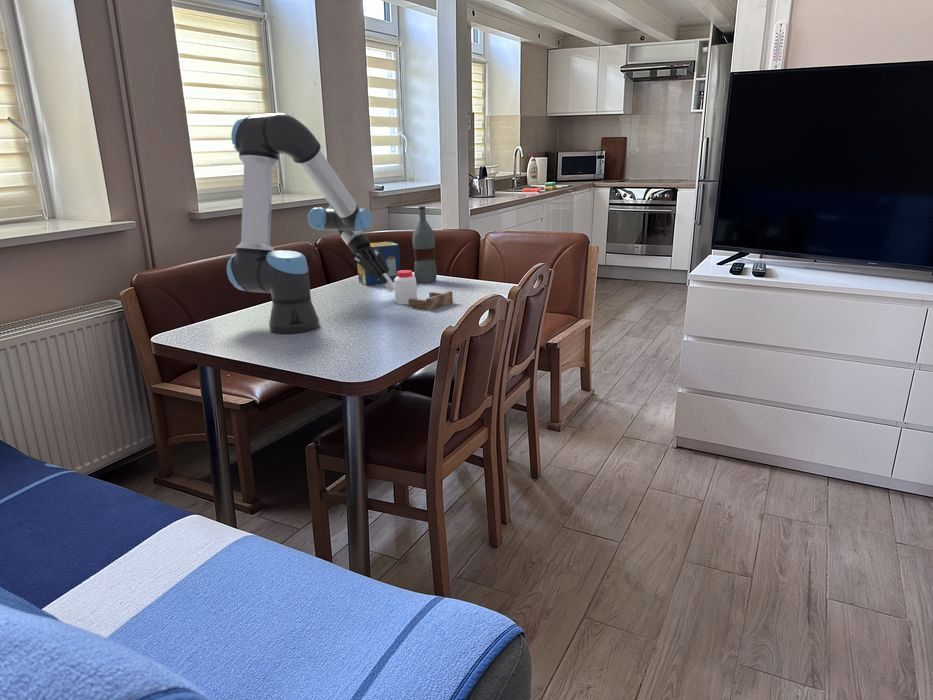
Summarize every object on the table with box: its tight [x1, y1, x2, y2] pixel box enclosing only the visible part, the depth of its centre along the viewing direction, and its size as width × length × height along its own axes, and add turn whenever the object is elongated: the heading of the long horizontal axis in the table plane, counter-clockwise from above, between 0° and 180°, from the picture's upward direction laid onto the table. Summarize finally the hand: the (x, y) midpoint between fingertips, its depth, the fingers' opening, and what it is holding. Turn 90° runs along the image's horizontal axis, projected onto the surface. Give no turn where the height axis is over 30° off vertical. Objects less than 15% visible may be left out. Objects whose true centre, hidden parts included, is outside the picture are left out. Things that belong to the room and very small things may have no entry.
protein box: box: [356, 241, 401, 287], centre depth 269 cm, size 10×15×16 cm
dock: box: [408, 290, 454, 311], centre depth 226 cm, size 13×9×4 cm
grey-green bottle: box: [411, 206, 438, 285], centre depth 263 cm, size 9×9×30 cm
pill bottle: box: [394, 269, 418, 305], centre depth 232 cm, size 8×8×11 cm
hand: (393, 289), depth 236 cm, fingers closed
